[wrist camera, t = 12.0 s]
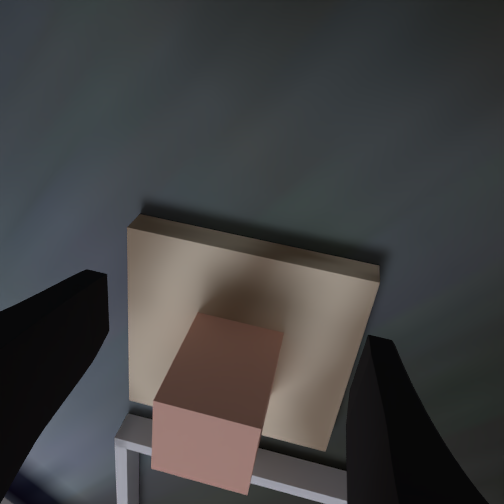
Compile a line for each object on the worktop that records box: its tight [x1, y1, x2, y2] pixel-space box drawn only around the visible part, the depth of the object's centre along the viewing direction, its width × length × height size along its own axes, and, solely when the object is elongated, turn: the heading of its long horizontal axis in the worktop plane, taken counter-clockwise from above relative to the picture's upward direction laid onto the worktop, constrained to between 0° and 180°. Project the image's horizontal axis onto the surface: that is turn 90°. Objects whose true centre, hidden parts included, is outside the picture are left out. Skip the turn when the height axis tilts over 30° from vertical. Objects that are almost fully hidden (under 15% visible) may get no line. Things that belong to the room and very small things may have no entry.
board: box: [127, 214, 380, 451], centre depth 26 cm, size 12×12×2 cm
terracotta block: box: [151, 312, 284, 495], centre depth 23 cm, size 4×4×6 cm
